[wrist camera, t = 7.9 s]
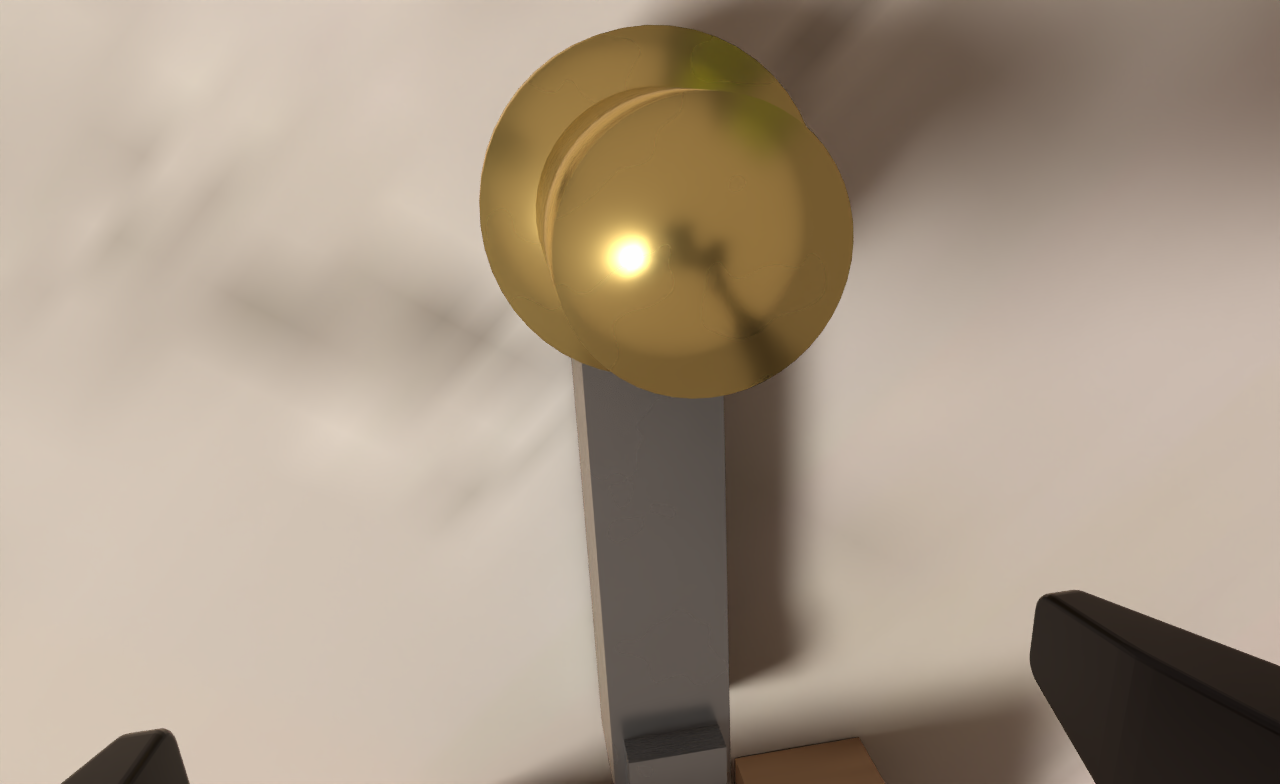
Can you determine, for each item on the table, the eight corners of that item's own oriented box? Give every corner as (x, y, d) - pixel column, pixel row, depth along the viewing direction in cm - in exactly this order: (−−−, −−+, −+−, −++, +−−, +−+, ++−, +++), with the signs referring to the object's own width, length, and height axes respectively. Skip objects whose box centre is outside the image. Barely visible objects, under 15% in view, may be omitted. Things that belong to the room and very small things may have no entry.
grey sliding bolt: (759, 696, 25) (873, 952, 18) (542, 731, 25) (568, 1015, 17) (757, 27, 19) (932, -2, 12) (463, 42, 18) (450, 20, 11)
